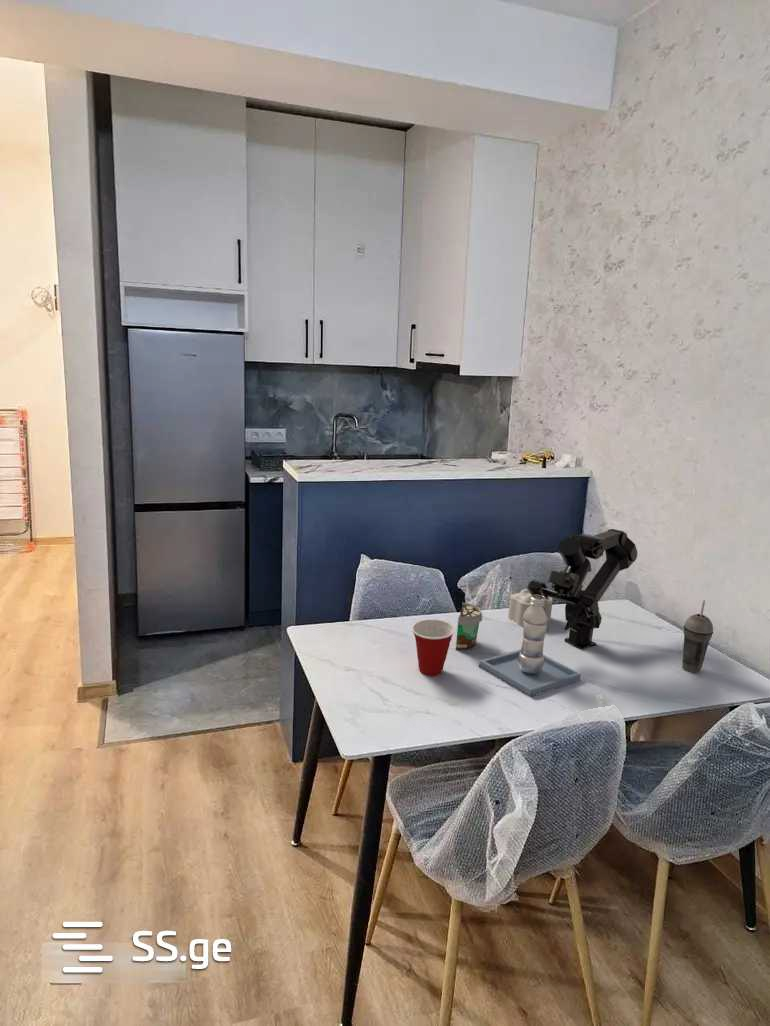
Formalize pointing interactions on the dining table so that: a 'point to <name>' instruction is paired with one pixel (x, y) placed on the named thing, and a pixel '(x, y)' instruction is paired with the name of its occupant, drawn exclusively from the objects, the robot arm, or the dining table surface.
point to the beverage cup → (696, 641)
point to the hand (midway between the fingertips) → (548, 624)
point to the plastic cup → (432, 644)
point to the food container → (468, 626)
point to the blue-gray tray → (529, 683)
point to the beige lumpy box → (524, 606)
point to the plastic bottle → (533, 636)
